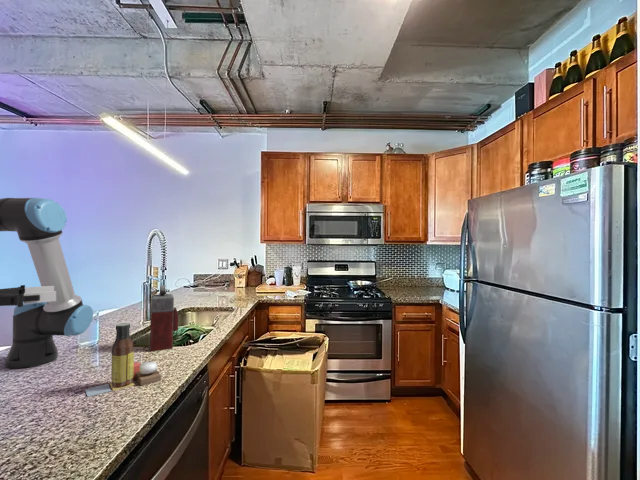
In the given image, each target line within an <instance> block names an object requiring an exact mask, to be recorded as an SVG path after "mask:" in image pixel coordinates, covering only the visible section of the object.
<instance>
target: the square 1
mask: <svg viewBox="0 0 640 480" xmlns="http://www.w3.org/2000/svg"><path fill="white" fill-rule="evenodd" d="M84 391H85V394H86V397H87V398H90V397H94V396H98V395H102V394H106V393H109V392H112V388H111V386H110V384H108V383H106V384H102V385H98V386H93V387H90V388H86V389H85V390H84Z"/></svg>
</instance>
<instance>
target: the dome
mask: <svg viewBox="0 0 640 480" xmlns="http://www.w3.org/2000/svg"><path fill="white" fill-rule="evenodd" d="M157 364H158V363H157V362H156V361H146V362H143V363H141V365H140V373H141V374H149V373H153V372H155V371H156V370H157V369H158V365H157ZM157 371H158V370H157Z"/></svg>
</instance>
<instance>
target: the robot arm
mask: <svg viewBox="0 0 640 480" xmlns="http://www.w3.org/2000/svg"><path fill="white" fill-rule="evenodd" d="M67 221H68V217H67V214H66V211H65V208H64V207H63V206H62V205H61V204H60V203H59V202H56V201H55V200H53V199H49V198H43V197H18V198H17V197H4V198H0V232H16V233H17V236H18V239H19V241H20V242H23V243H25V244H27V247H28V250H29V252H30V256H31V259H32V262H33V265H34V268H35V271H36V275H37V277H38V280H39V283H40V286H27V287H26V284H23V285H22V284H21V285H20V286H17V287H8V288H0V307H5V306H6V307H7V306H8V307H9V306H10V307H11V306H15V307H14V309H13V314H12V343H11V344H12V345H11V346H10V349H9V351H8V353H7V356H6V358H5V360H4V361H5V362H4V366H5V367H6V368H8V369H9V368H10V369H21V368H29V367H30V368H31V367H35V366H39V365H44V364H47V363H51V362H53V361H54V360H57V359H58V356H59V352H58V351H59V350H58V349H57V345H56V343H55V341H54V338H53V337H54V336H65V337H72V336H79V335H82V334H83V333H84V332H85V331H87V330H88V328H89V327H90V325H91V323H92V322H93V318H94V310H93V308H92V307H91V306H89V305H88V304H84V303H83V300H82V298H81V296H80V295H78V294H75V290H74V285H73V282H72V279H71V276H70V272H69V269H68V266H67V262H66V259H65V255H64V252H63V249H62V246H61V242H60V237H61V236H62V234H63V229H64V228H65V227H66V225H67V224H66V223H67Z"/></svg>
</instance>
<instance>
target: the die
mask: <svg viewBox="0 0 640 480" xmlns="http://www.w3.org/2000/svg"><path fill="white" fill-rule="evenodd" d="M141 364H142V363H140V362H138V361H134V376H133V379H136V378H135V372H139V371H140V365H141Z"/></svg>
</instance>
